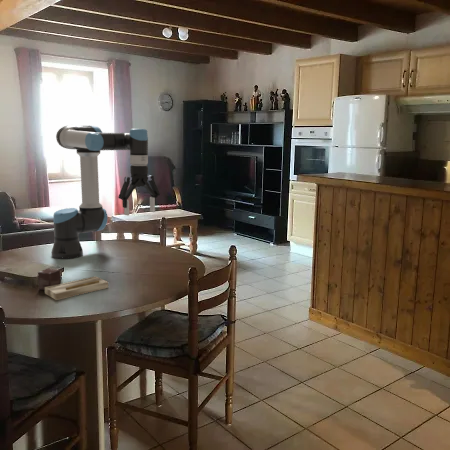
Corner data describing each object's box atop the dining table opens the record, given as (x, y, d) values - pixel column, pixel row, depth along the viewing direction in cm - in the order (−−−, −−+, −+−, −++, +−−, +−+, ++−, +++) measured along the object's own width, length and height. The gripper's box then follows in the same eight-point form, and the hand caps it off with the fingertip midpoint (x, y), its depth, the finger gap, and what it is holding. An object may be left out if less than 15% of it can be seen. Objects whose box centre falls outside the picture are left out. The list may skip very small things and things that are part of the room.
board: (44, 293, 185) (44, 285, 185) (95, 281, 200) (95, 274, 200) (56, 300, 178) (55, 291, 178) (108, 287, 193) (108, 280, 193)
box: (61, 287, 193) (60, 269, 192) (50, 291, 188) (49, 273, 186) (49, 285, 195) (48, 268, 194) (38, 289, 190) (37, 271, 188)
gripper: (119, 166, 194) (120, 217, 198) (167, 164, 212) (167, 211, 216) (109, 165, 199) (110, 215, 203) (157, 163, 217) (157, 209, 221)
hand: (139, 213), depth 210 cm, fingers open, 13 cm apart
